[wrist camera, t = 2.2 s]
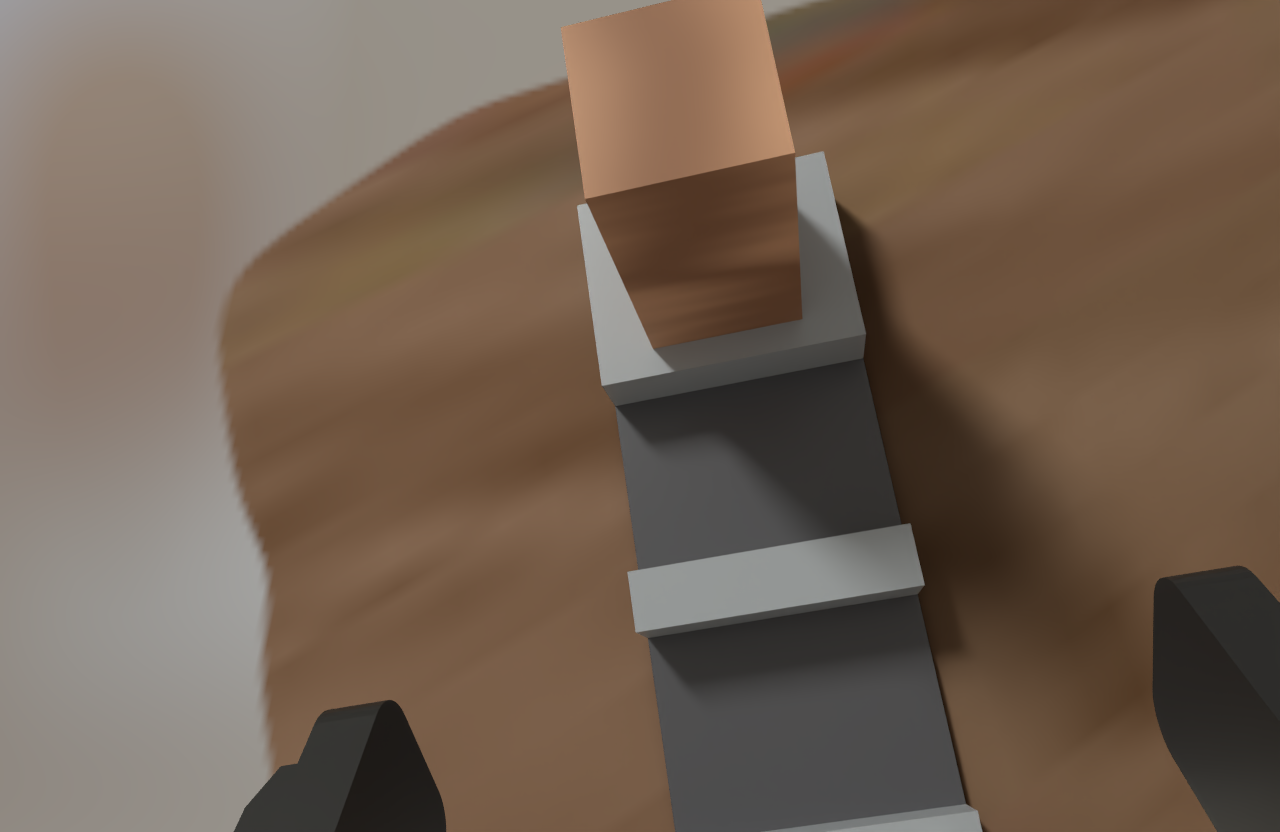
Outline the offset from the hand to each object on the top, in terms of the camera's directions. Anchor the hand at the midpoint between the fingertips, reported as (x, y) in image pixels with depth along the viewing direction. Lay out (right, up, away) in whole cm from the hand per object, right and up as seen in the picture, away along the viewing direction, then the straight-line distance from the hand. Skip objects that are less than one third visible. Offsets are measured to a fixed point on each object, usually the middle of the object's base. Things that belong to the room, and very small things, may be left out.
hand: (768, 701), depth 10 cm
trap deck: (+2, -1, +15) cm, 15 cm away
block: (+1, +7, +16) cm, 18 cm away
